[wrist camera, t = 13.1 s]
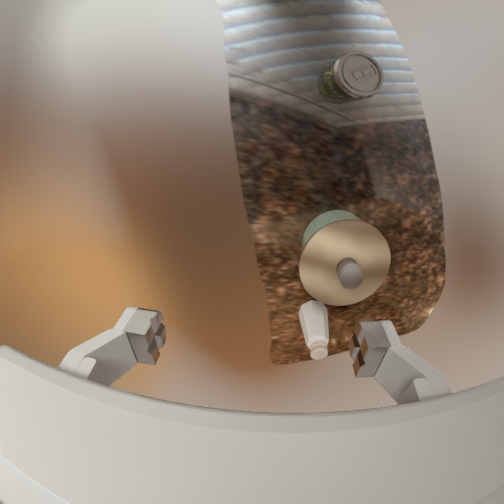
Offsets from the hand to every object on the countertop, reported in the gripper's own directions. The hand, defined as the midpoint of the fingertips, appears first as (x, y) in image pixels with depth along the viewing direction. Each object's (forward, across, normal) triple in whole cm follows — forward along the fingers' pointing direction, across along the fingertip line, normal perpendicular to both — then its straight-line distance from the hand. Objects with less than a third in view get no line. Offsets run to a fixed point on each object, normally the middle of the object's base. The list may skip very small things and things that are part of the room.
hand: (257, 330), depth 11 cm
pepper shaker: (+31, -9, +24) cm, 40 cm away
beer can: (+31, -9, -14) cm, 35 cm away
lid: (+24, -11, +10) cm, 28 cm away
